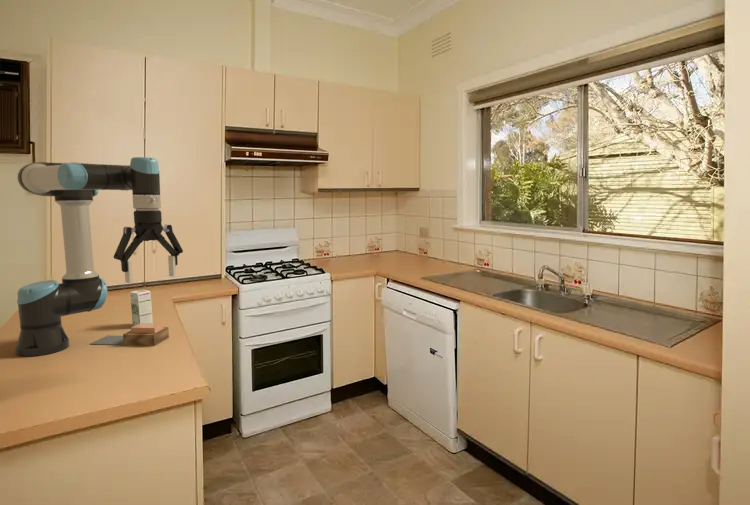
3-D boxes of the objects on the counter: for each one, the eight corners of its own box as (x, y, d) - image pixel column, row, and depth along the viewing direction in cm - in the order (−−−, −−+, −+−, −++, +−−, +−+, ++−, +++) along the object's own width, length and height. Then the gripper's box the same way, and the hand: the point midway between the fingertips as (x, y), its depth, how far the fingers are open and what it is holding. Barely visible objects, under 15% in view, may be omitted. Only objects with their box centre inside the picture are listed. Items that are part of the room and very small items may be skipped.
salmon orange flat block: (130, 332, 169) (130, 327, 168) (140, 328, 175) (140, 323, 174) (154, 333, 168) (154, 328, 168) (163, 328, 174) (163, 323, 174)
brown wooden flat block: (123, 345, 167) (123, 334, 167) (139, 336, 177) (138, 326, 177) (154, 345, 167) (153, 335, 166) (168, 337, 176) (168, 327, 176)
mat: (89, 344, 168) (89, 343, 168) (107, 336, 178) (107, 335, 178) (124, 345, 167) (124, 344, 167) (140, 336, 177) (140, 336, 177)
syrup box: (153, 324, 194) (151, 290, 192) (139, 328, 189) (137, 293, 187) (145, 322, 197) (143, 289, 195) (131, 326, 192) (129, 291, 190)
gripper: (109, 211, 128) (114, 287, 131) (192, 209, 148) (195, 274, 151) (97, 210, 133) (102, 284, 135) (179, 208, 152) (182, 272, 155)
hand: (151, 279), depth 143 cm, fingers open, 13 cm apart
